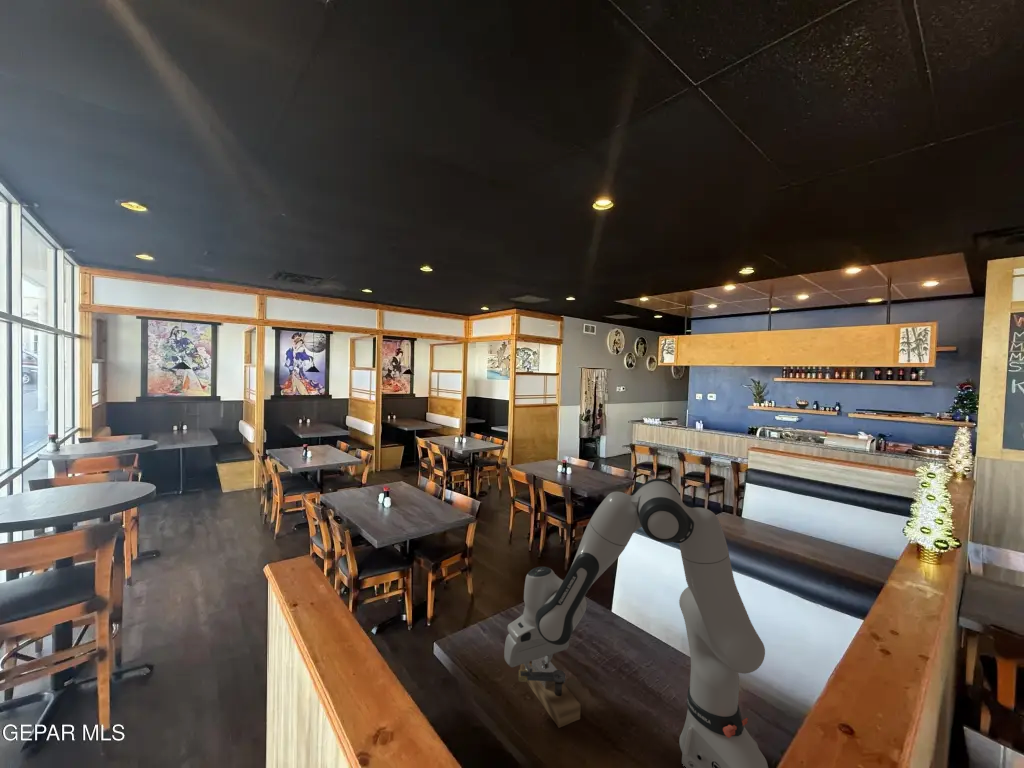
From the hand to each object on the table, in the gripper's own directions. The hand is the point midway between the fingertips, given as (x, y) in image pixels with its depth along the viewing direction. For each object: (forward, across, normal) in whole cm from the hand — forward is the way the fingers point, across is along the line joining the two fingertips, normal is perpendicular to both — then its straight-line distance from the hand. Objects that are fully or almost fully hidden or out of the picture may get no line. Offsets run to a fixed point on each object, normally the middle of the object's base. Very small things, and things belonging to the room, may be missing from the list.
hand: (537, 670), depth 120 cm
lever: (0, 0, +3) cm, 3 cm away
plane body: (+8, -4, 0) cm, 9 cm away
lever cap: (+4, -4, -2) cm, 6 cm away
